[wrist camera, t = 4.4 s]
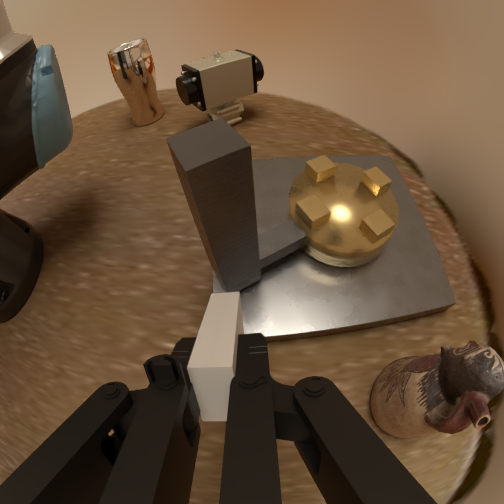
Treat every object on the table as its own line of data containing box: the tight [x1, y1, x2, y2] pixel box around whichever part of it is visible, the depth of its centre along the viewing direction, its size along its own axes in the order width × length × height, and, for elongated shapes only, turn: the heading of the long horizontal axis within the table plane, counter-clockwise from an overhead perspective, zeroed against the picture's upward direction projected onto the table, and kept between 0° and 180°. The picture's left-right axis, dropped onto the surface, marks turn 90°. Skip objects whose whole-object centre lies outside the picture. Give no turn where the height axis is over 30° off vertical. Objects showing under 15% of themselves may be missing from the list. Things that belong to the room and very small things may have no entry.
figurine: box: [370, 341, 504, 438], centre depth 13 cm, size 7×7×12 cm
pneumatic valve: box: [176, 50, 264, 126], centre depth 34 cm, size 6×12×12 cm, turn 124°
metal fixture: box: [166, 118, 399, 293], centre depth 19 cm, size 18×10×13 cm, turn 119°
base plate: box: [213, 155, 456, 342], centre depth 26 cm, size 22×20×2 cm
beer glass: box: [107, 38, 164, 126], centre depth 36 cm, size 7×7×15 cm
